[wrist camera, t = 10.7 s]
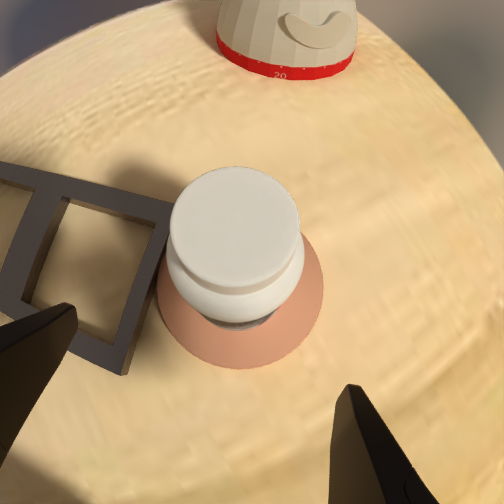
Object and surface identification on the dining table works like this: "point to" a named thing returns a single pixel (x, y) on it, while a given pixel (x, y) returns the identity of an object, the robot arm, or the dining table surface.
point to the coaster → (250, 341)
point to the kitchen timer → (288, 36)
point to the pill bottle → (235, 247)
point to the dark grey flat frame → (41, 236)
